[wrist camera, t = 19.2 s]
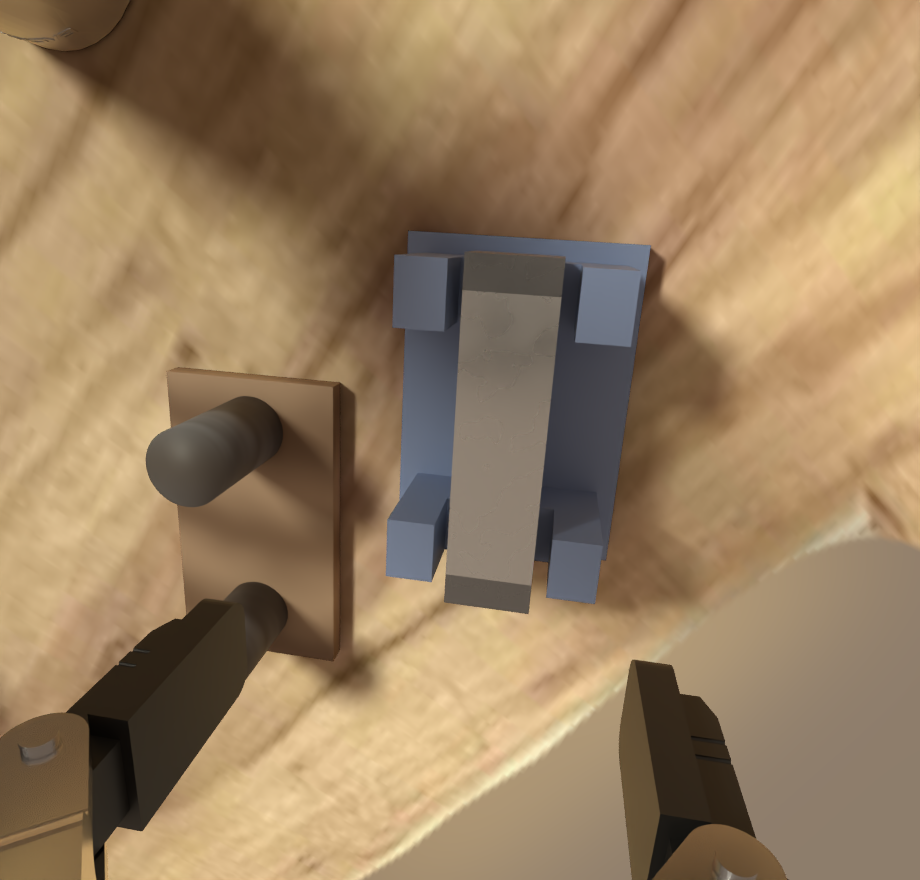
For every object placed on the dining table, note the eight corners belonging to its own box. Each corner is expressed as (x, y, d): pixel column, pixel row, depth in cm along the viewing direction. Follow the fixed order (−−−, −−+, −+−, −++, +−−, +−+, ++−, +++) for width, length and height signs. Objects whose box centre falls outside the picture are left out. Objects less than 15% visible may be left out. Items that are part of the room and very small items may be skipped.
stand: (178, 367, 38) (82, 398, 30) (340, 382, 37) (281, 418, 29) (198, 628, 43) (120, 709, 36) (339, 649, 42) (290, 738, 35)
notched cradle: (413, 231, 34) (371, 227, 26) (647, 245, 32) (671, 245, 25) (403, 525, 39) (365, 591, 31) (604, 550, 37) (613, 625, 30)
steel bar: (477, 250, 29) (464, 251, 26) (565, 256, 29) (565, 258, 25) (457, 562, 34) (444, 602, 30) (532, 572, 34) (528, 614, 30)
